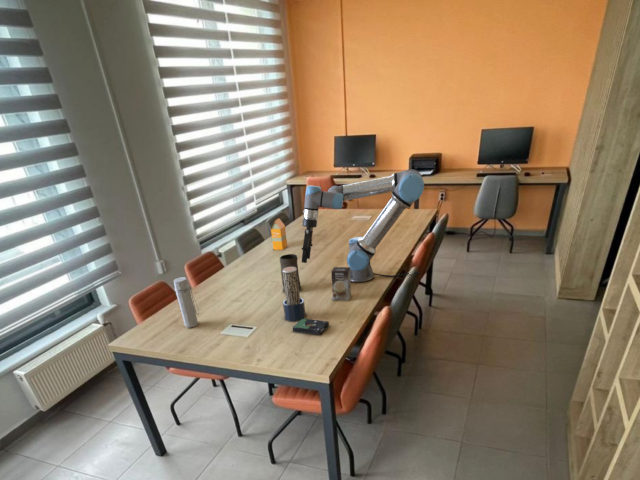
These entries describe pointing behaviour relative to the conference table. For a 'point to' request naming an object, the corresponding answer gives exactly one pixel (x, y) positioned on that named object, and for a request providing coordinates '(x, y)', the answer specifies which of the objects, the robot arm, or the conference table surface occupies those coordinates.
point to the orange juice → (278, 235)
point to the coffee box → (341, 283)
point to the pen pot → (294, 311)
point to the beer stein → (289, 261)
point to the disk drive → (311, 326)
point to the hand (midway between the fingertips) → (305, 260)
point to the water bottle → (186, 302)
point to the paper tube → (291, 285)
